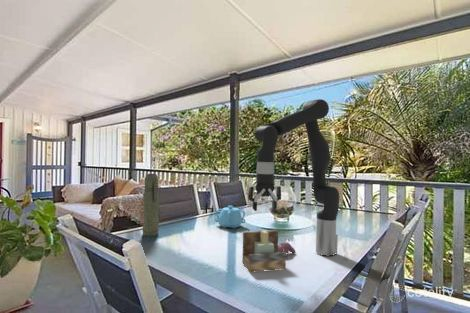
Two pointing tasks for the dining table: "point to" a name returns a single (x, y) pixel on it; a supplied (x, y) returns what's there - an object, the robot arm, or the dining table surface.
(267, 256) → the wall board ledge
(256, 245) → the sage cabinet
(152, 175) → the thermos
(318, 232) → the robot arm
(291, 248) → the video game controller
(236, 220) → the decorative pot
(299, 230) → the dining table surface
